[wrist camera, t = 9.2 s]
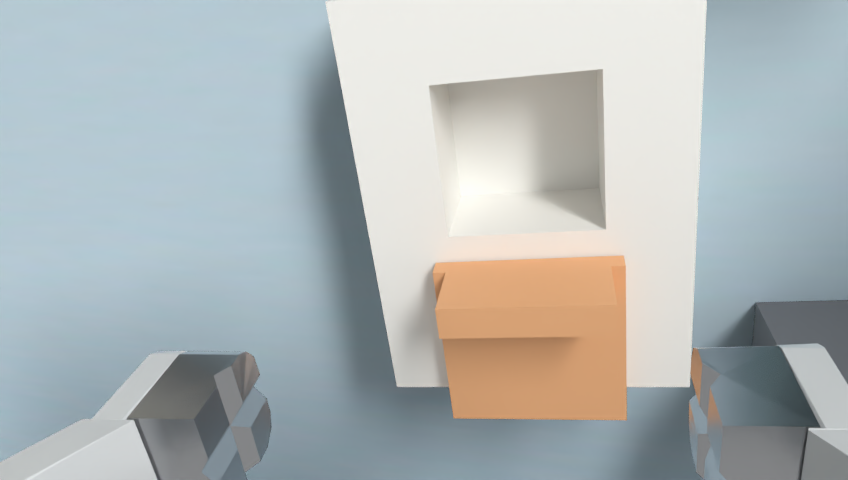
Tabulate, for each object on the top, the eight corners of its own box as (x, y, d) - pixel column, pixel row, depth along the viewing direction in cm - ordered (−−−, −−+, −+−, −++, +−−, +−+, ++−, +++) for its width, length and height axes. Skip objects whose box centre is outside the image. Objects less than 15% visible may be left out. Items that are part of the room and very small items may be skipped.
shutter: (435, 262, 26) (420, 309, 23) (623, 255, 25) (633, 304, 22) (456, 405, 29) (444, 463, 26) (624, 406, 28) (633, 468, 25)
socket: (368, -18, 28) (325, 1, 23) (676, -58, 25) (708, -47, 20) (420, 312, 35) (397, 387, 29) (667, 306, 32) (689, 387, 27)
